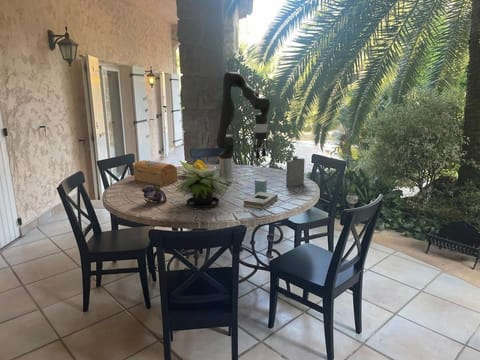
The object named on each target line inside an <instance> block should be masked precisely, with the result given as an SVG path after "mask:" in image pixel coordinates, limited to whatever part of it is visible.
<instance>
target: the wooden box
mask: <svg viewBox="0 0 480 360" xmlns="http://www.w3.org/2000/svg"><path fill="white" fill-rule="evenodd" d="M177 175H178V169H177V166H175V165H173V164H172V163H165V162H161V161H159V162H158V161H154V160H153V161H151V160H147V159H146V160H145V159H143V160H139V161H137V162H136V163H135V164H134V165H133V178H134V181H137V180H139V181H138V182H141V181H143V182H142V183H146V182H147V183H146V184H152V185H155V186H159V187H161V186H162V187H163V186H166V185H170V184H174V183H178V176H177Z"/></svg>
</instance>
